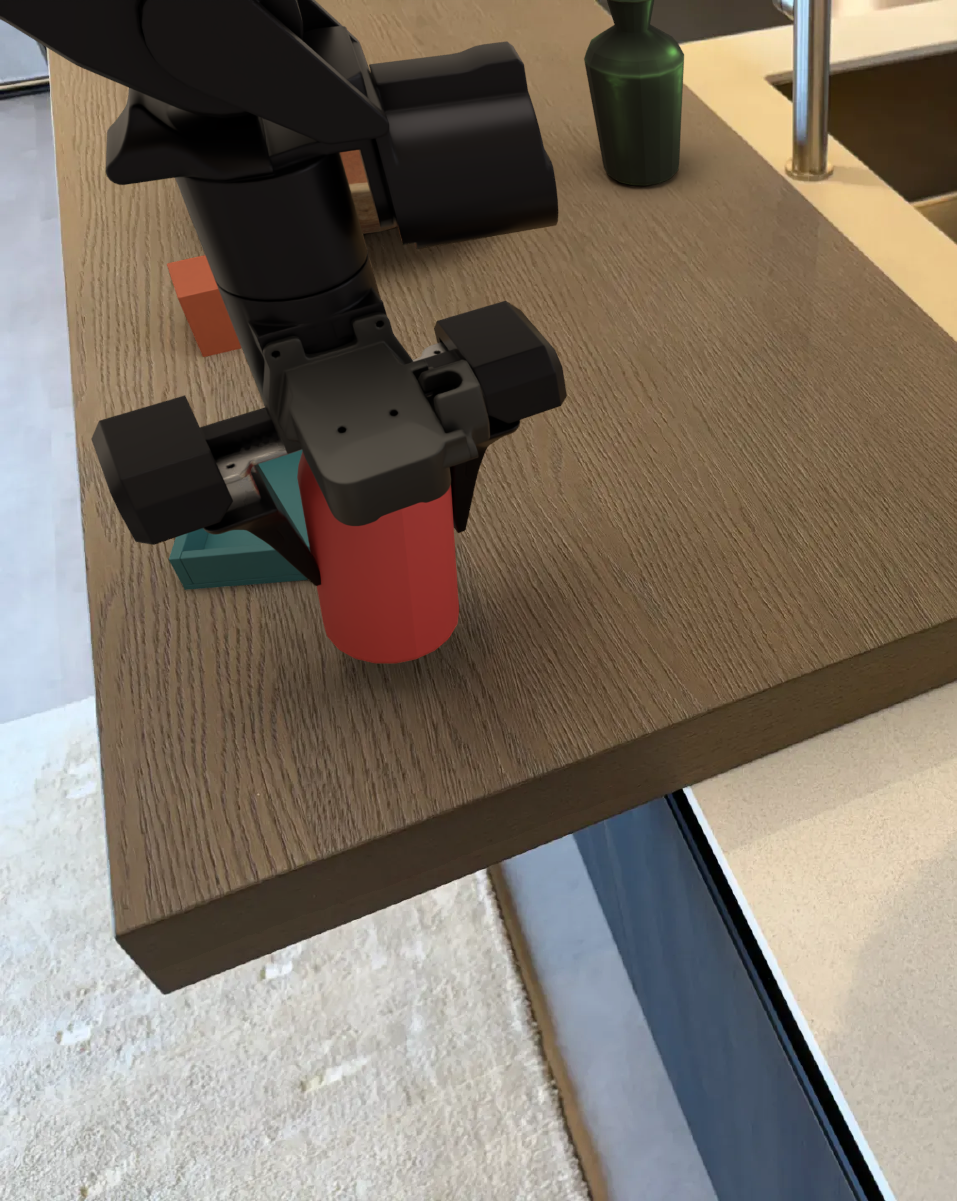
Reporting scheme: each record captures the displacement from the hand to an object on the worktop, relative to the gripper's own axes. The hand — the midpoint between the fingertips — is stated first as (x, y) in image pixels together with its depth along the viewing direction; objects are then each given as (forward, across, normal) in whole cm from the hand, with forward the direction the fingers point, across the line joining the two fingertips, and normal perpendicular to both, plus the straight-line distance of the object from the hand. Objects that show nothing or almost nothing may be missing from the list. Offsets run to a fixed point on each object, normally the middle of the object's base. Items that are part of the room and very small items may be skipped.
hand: (389, 553), depth 55 cm
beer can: (+5, -1, 0) cm, 5 cm away
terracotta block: (+7, -1, +35) cm, 36 cm away
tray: (+7, -2, +14) cm, 15 cm away
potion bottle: (+7, +36, +43) cm, 56 cm away
